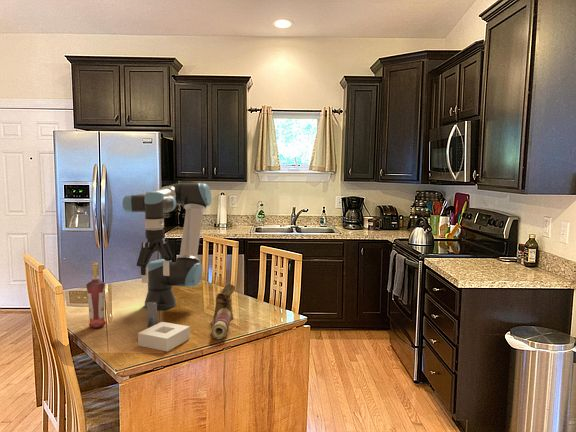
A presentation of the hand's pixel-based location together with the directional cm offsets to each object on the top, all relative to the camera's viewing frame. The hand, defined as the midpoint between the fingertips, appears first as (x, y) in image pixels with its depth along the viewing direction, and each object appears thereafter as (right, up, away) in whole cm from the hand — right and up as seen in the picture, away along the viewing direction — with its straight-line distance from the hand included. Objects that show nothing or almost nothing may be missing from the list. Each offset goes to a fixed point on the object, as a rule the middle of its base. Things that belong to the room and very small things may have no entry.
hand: (156, 278), depth 183 cm
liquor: (-27, -22, +6) cm, 35 cm away
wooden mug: (+27, -21, +15) cm, 37 cm away
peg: (-2, -22, +1) cm, 22 cm away
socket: (+7, -23, -11) cm, 27 cm away
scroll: (+27, -23, +1) cm, 35 cm away
